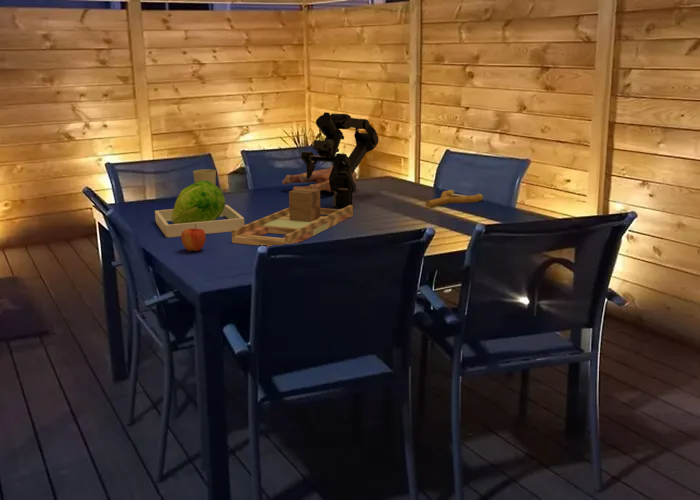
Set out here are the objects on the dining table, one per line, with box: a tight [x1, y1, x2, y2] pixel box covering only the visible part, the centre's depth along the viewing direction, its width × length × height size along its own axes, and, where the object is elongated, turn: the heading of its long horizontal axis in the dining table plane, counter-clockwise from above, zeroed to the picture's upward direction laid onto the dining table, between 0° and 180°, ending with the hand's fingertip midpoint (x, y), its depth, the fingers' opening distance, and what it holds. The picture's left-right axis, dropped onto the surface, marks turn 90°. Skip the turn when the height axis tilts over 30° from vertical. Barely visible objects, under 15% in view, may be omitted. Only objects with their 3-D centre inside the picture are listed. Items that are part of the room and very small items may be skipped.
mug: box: [192, 168, 217, 186], centre depth 315 cm, size 11×10×12 cm
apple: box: [180, 224, 207, 252], centre depth 235 cm, size 7×7×8 cm
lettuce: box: [171, 181, 226, 224], centre depth 269 cm, size 17×20×17 cm
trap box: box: [231, 204, 354, 247], centre depth 264 cm, size 51×20×4 cm, turn 157°
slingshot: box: [425, 189, 484, 209], centre depth 305 cm, size 18×3×25 cm
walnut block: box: [288, 188, 321, 222], centre depth 268 cm, size 8×8×10 cm
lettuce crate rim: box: [154, 204, 245, 238], centre depth 269 cm, size 26×26×4 cm
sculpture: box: [281, 165, 358, 194], centre depth 330 cm, size 12×26×30 cm
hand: (318, 179), depth 280 cm, fingers open, 9 cm apart
